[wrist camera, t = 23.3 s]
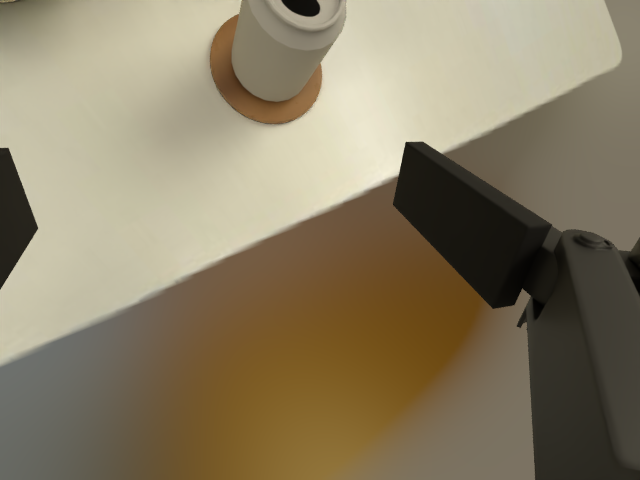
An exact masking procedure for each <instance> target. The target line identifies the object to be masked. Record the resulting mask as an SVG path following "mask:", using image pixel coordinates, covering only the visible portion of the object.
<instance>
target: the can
mask: <svg viewBox="0 0 640 480" xmlns="http://www.w3.org/2000/svg"><path fill="white" fill-rule="evenodd" d="M345 20H346V0H242V3H241V8H240V12H239V17H238V22H237V27H236V31H235V36H234V41H233V46H232V66H233V69H234V72H235V75H236V76H237V78H238V79H239V81H240V82H241V84H242V85H243V87H245V88H246V89H247V90H248V91H249V92H251V93H252V94H253V95H255V96H257V97H259V98H261V99H263V100H267V101H275V102H279V101H284V100H289V99H291V98H292V97H294V96H296V95H297V94H299V92H300V91H301V90H302V88H303V87H304V86H305V85H306V83H307V82H308V80H309V79H310V77H311V76H312V74H313V73H314V71H315V70H316V68H317V67H318V65H319V64H320V62H321V61H322V60H323V58H324V57H325V55H326V54H327V52H328V51H329V49H330V48H331V46H332V45H333V43H334V42H335V40H336V39H337V37H338V36H339V34H340V33H341V32H342V29H343V26H344V23H345Z"/></svg>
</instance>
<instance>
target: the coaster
mask: <svg viewBox="0 0 640 480" xmlns="http://www.w3.org/2000/svg"><path fill="white" fill-rule="evenodd" d="M238 17H239V14H238V15H236V16H234V17H232V18H231V19H229V20H228V21H227V22H225V23H224V24H223V25H222V26H221V28H220V29H219V30H218V32H217V34H216V35H215V38H214V40H213V43H212V47H211V54H210V66H211V72H212V76H213V79H214V82H215V84H216V86H217V88H218V90H219V91H220V93H221V95H222V96H223V97H224V99H225V100H226V101H227V102H228V103H229V104H230V105H231V106H232V107H233V108H234V109H235V110H237V111H238V112H239V113H241V114H243V115H244V116H246V117H248V118H250V119H252V120H255V121H258V122H262V123H268V124H280V123H286V122H290V121H292V120H295V119H297V118H299V117H300V116H302V115H303V114H304V113H306V112H307V111H308V110H309V109H310V107H311V106H312V105H313V103H314V102H315V100H316V98H317V97H318V94H319V91H320V88H321V82H322V69H321V63H320V64H319V65H318V67H317V68H316V70H315V71H314V73H313V74H312V76H311V77H310V79H309V80H308V82H307V83H306V85H305V86H304V87H303V88H302V90H301V91H300V92H299V94H297V95H296V96H294V97H292V98H291V99H289V100H284V101H279V102H275V101H267V100H263V99H261V98H259V97H257V96H255V95H253V94H252V93H251V92H249V91H248V90H247V89H246V88H245V87H243V85H242V84H241V82H240V81H239V79H238V78H237V76H236V75H235V72H234V69H233V66H232V46H233V41H234V36H235V31H236V27H237V22H238Z"/></svg>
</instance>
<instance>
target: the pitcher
mask: <svg viewBox="0 0 640 480" xmlns="http://www.w3.org/2000/svg"><path fill="white" fill-rule="evenodd" d="M13 1H17V0H0V3H4V2H13Z"/></svg>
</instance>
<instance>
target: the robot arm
mask: <svg viewBox="0 0 640 480" xmlns="http://www.w3.org/2000/svg"><path fill="white" fill-rule="evenodd" d="M393 205H394V206H395V207H396V209H398V211H399V212H400V213H401V214H402V215H403V216H404V217H405V218H406V219H407V220H408V221H409V222H410V223H411V224H412V225H413V226H414V227H415V228H416V229H417V230H418V231H419V232H420V233H421V235H423V237H424V238H425V239H426V240H427V241H428V242H429V243H430V244H431V245H432V246H433V247H434V248H435V249H436V250H437V251H438V252H439V253H440V254H441V255H442V256H443V257H444V258H445V259H446V260H447V262H448V263H449V264H450V265H452V267H453V268H455V270H456V271H457V272H458V273H459V274H460V275H461V276H462V277H463V278H464V279H465V280H466V281H467V282H468V283H469V284H470V285H471V286H472V287H473V288H474V290H475V291H477V293H478V294H479V295H480V296H481V297H482V298H483V299H484V300H485V301H486V302H487V303H488V304H489V305H490V306H491V307H492V308H493V309H494V308H500V307H506V306H512V305H514V304H515V303H516V300H517V298H518V296H519V294H520V292H521V290H522V288H523V289H524V290H525V291H526V292H527V293H528V294H529V295H531V297H530V299H529V301H528V303H527V305H526V307H525V309H524V311H523V313H522V315H521V317H520V319H519V321H518V325H517V327H520V328H521V326H522V324H523V323H525V322H527V333H528V352H529V370H530V389H531V408H532V425H533V444H534V463H535V480H640V238H639V240H638V241H637V243H636V244H635V246H634V248H633V249H632V251H631V252H630V251H620V250H618V249H617V248H616V247H615V246H614V244H612V243H611V242H610V241H609V240H607V239H605V238H603V237H600V236H599V235H597V234H594V233H591V232H587V231H582V230H566V231H563V233H562V232H560V231H559V230H557V229H556V228H554V227H553V226H552V224H550V223H549V222H547V221H546V220H544V219H542V218H541V217H539V216H538V215H536V214H535V213H533V212H532V211H530V210H528V209H527V208H525V207H524V206H522V205H521V204H519V203H517V202H516V201H514V200H513V199H511V198H510V197H508V196H506V195H505V194H503V193H502V192H500V191H499V190H497V189H496V188H494V187H492V186H491V185H489V184H488V183H486V182H485V181H483V180H482V179H480V178H479V177H477V176H475V175H474V174H472V173H471V172H469V171H467V170H466V169H464V168H463V167H461V166H460V165H458V164H456V163H455V162H454V161H452V160H450V159H449V158H447V157H446V156H444V155H443V154H441V153H440V152H438V151H436V150H435V149H433V148H432V147H430V146H429V145H427V144H425V143H424V142H406V143H405V148H404V153H403V158H402V163H401V168H400V173H399V177H398V182H397V187H396V192H395V197H394V202H393ZM37 230H38V227H37V224H36V221H35V218H34V216H33V213H32V210H31V208H30V205H29V202H28V199H27V197H26V194H25V191H24V189H23V186H22V183H21V181H20V178H19V175H18V172H17V170H16V167H15V164H14V162H13V159H12V156H11V153H10V151H9V148H0V289H1V287H2V286H3V284H4V283H5V281H6V279H7V278H8V276H9V275H10V273H11V271H12V270H13V268H14V267H15V265H16V263H17V262H18V260H19V259H20V257H21V255H22V254H23V252H24V250H25V249H26V247H27V246H28V244H29V242H30V241H31V239H32V238H33V236H34V234H35V233H36V231H37Z"/></svg>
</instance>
